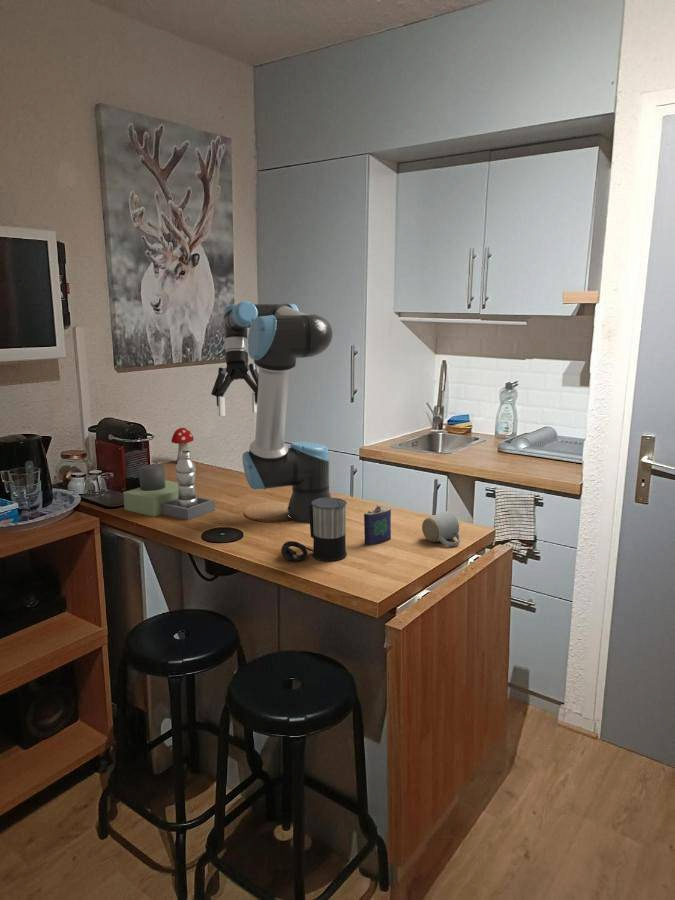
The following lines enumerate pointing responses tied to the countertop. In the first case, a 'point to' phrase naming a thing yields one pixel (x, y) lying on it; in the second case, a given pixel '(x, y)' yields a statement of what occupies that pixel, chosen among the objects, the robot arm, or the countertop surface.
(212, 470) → the countertop surface
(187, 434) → the decorative mushroom
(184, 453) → the plastic bottle
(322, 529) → the milk frother
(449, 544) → the ceramic mug
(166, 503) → the green block with tray
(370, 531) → the flask
